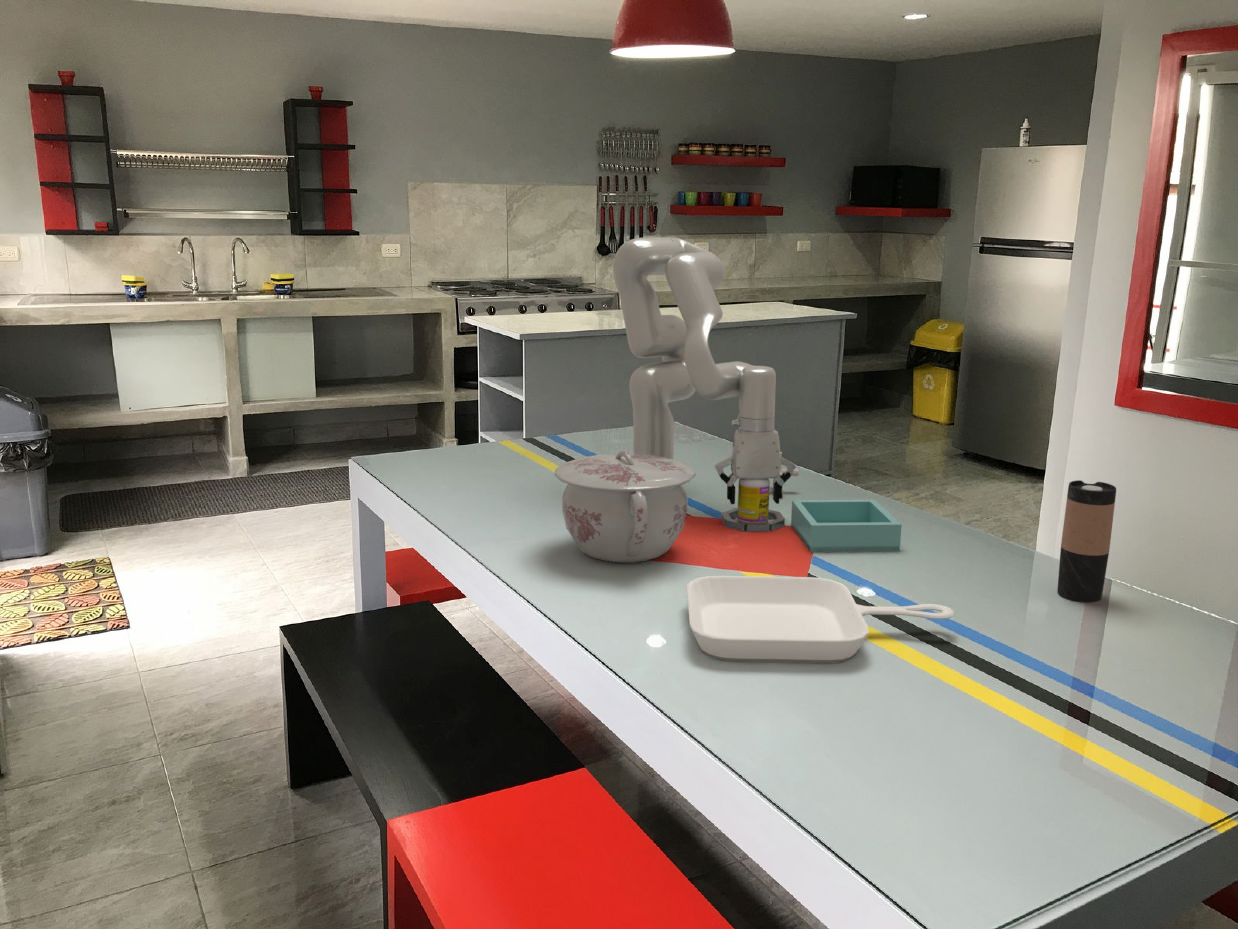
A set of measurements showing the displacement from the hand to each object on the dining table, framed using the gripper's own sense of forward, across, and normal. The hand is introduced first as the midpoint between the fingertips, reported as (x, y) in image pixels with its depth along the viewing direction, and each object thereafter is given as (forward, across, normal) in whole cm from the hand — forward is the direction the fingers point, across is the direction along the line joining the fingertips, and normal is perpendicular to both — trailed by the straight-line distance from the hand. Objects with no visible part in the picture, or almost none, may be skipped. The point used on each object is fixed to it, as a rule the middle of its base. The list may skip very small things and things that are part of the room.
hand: (754, 502), depth 216 cm
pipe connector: (+5, +10, +24) cm, 27 cm away
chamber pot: (+5, -29, -19) cm, 35 cm away
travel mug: (+5, +50, -45) cm, 67 cm away
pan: (+5, 0, -59) cm, 59 cm away
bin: (+5, +17, -11) cm, 21 cm away
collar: (+5, 0, 0) cm, 5 cm away
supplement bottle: (+5, 0, 0) cm, 5 cm away
